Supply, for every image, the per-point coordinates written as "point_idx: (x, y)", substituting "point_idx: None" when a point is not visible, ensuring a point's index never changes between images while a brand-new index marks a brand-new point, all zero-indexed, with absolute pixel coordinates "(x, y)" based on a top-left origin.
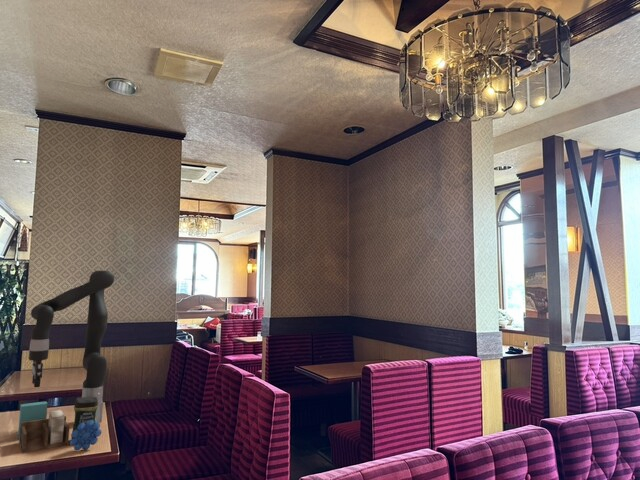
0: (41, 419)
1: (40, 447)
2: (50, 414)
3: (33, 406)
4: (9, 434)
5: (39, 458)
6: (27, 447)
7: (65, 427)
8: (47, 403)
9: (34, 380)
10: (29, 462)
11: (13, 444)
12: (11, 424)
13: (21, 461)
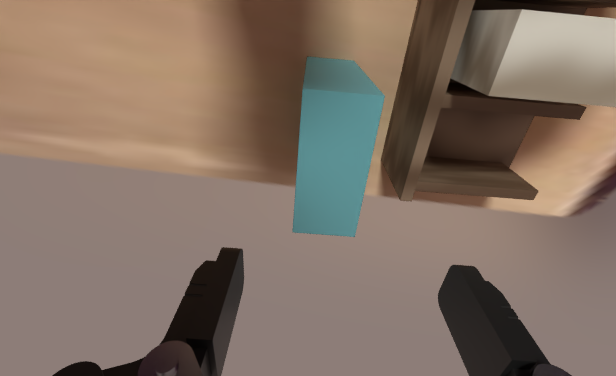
0: (424, 117)
1: (533, 117)
2: (541, 99)
3: (365, 178)
4: (255, 171)
5: (610, 133)
6: (490, 154)
7: (583, 1)
8: (382, 96)
9: (236, 302)
10: (612, 164)
11: (385, 176)
12: (115, 148)
13: (577, 181)
